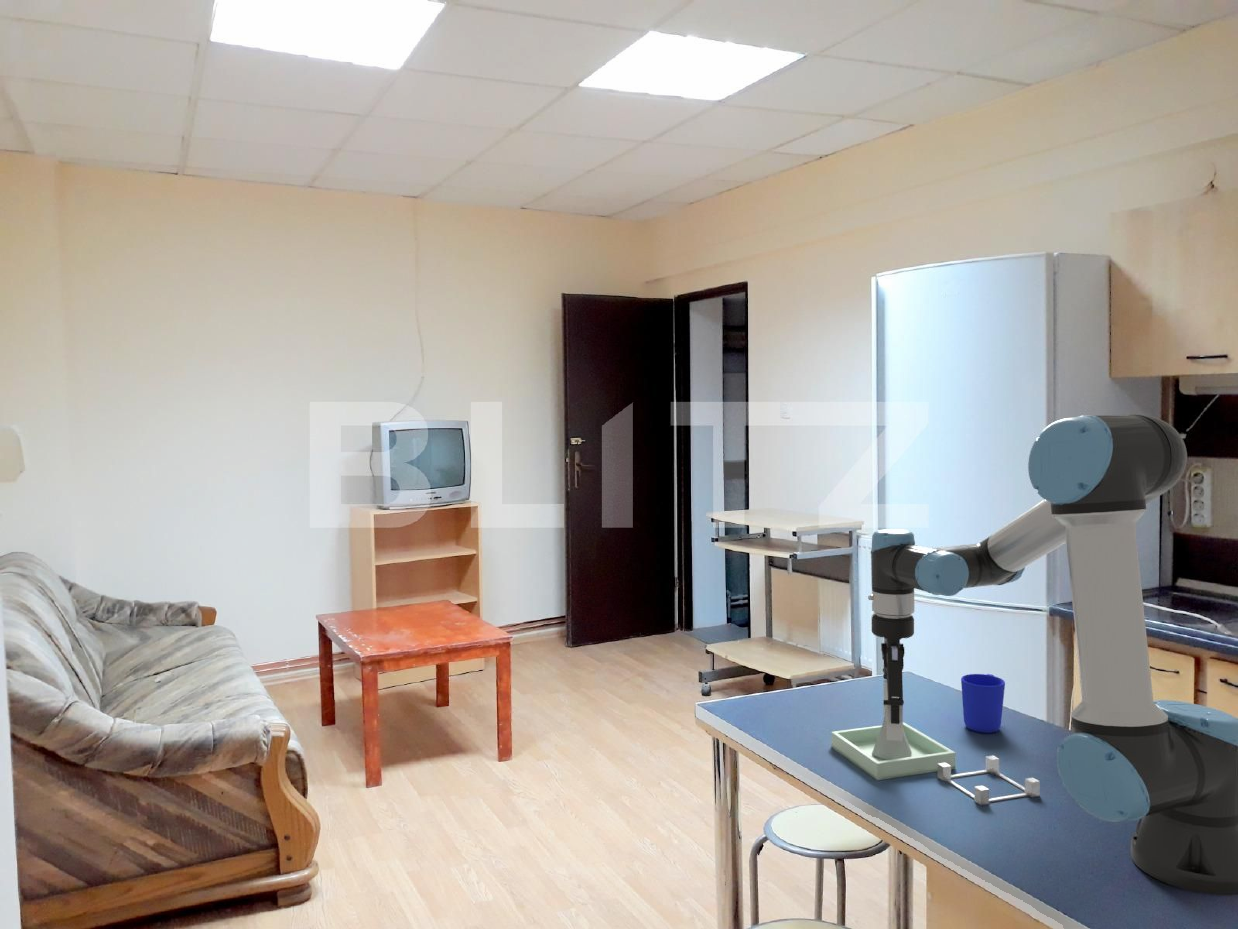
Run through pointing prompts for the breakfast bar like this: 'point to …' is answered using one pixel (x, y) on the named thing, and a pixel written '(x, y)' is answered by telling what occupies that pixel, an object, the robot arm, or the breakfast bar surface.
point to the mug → (982, 702)
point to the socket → (981, 791)
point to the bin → (922, 759)
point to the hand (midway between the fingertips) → (892, 727)
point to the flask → (890, 744)
